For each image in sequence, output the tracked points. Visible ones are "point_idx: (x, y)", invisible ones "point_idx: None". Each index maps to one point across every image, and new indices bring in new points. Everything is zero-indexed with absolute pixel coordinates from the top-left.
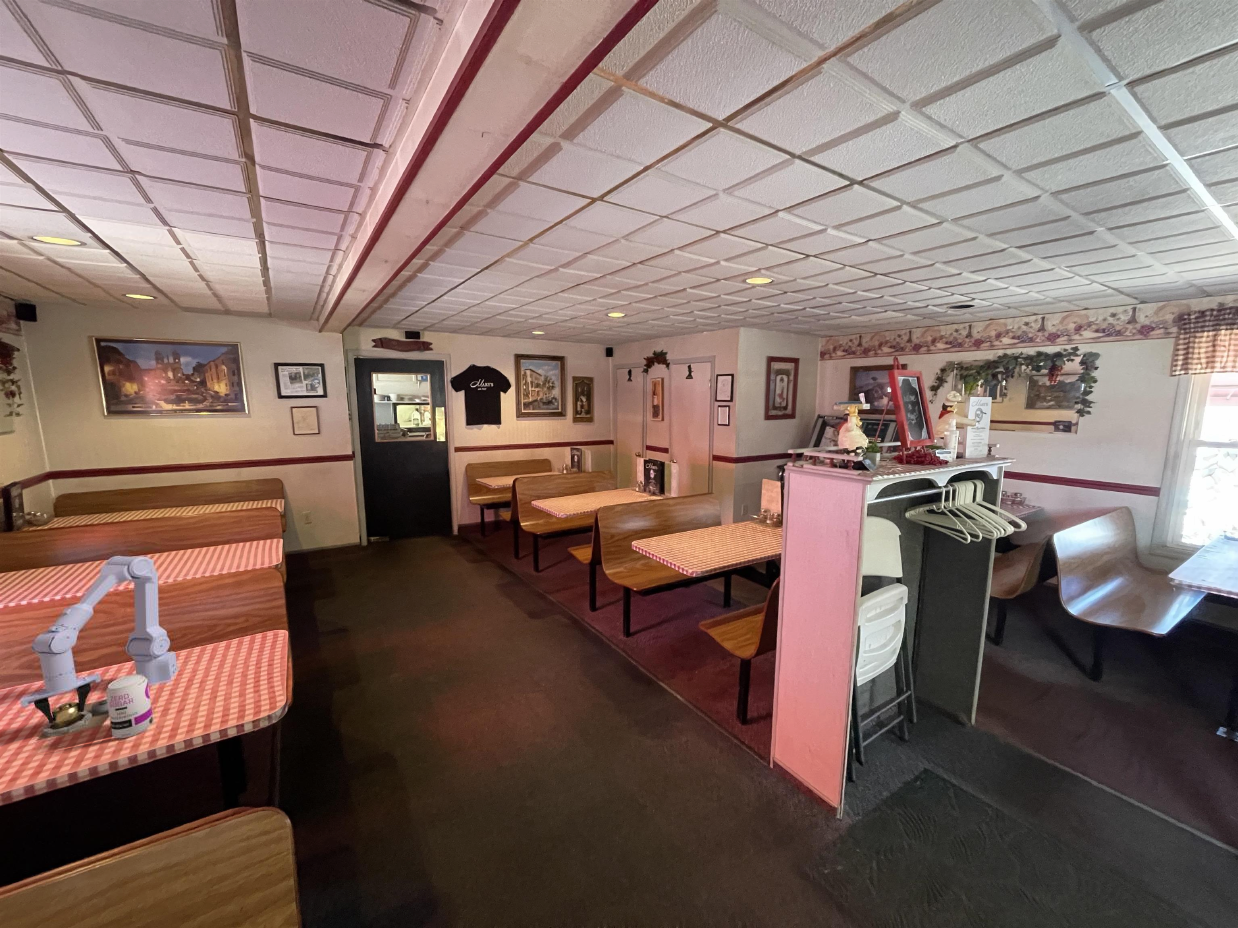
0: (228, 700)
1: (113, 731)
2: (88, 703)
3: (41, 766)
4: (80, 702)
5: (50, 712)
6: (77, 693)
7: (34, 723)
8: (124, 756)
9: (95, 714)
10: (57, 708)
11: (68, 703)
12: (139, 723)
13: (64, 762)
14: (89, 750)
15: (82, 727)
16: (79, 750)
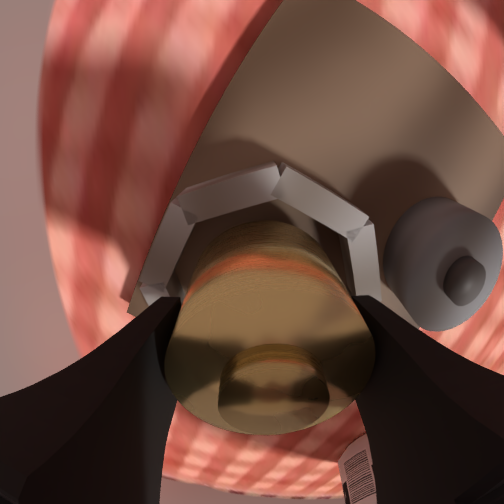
0: None
1: (341, 480)
2: (397, 32)
3: (178, 451)
4: (369, 432)
5: (163, 443)
6: (436, 411)
7: (125, 19)
8: (315, 495)
9: (389, 285)
10: (209, 340)
11: (306, 397)
12: None
13: (225, 468)
14: (279, 464)
15: None
16: (261, 454)
